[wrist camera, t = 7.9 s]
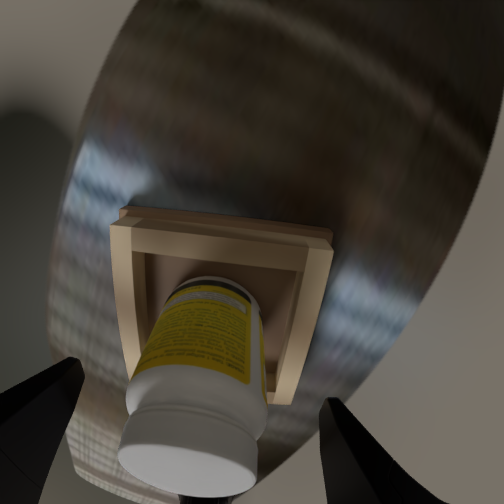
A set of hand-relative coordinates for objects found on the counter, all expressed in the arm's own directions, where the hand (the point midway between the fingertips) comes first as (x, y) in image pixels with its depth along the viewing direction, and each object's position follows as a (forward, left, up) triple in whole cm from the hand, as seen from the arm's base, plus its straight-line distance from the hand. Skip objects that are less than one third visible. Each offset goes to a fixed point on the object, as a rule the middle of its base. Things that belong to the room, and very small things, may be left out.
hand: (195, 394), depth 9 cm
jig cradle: (0, 0, -6) cm, 6 cm away
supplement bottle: (0, 0, -5) cm, 5 cm away
